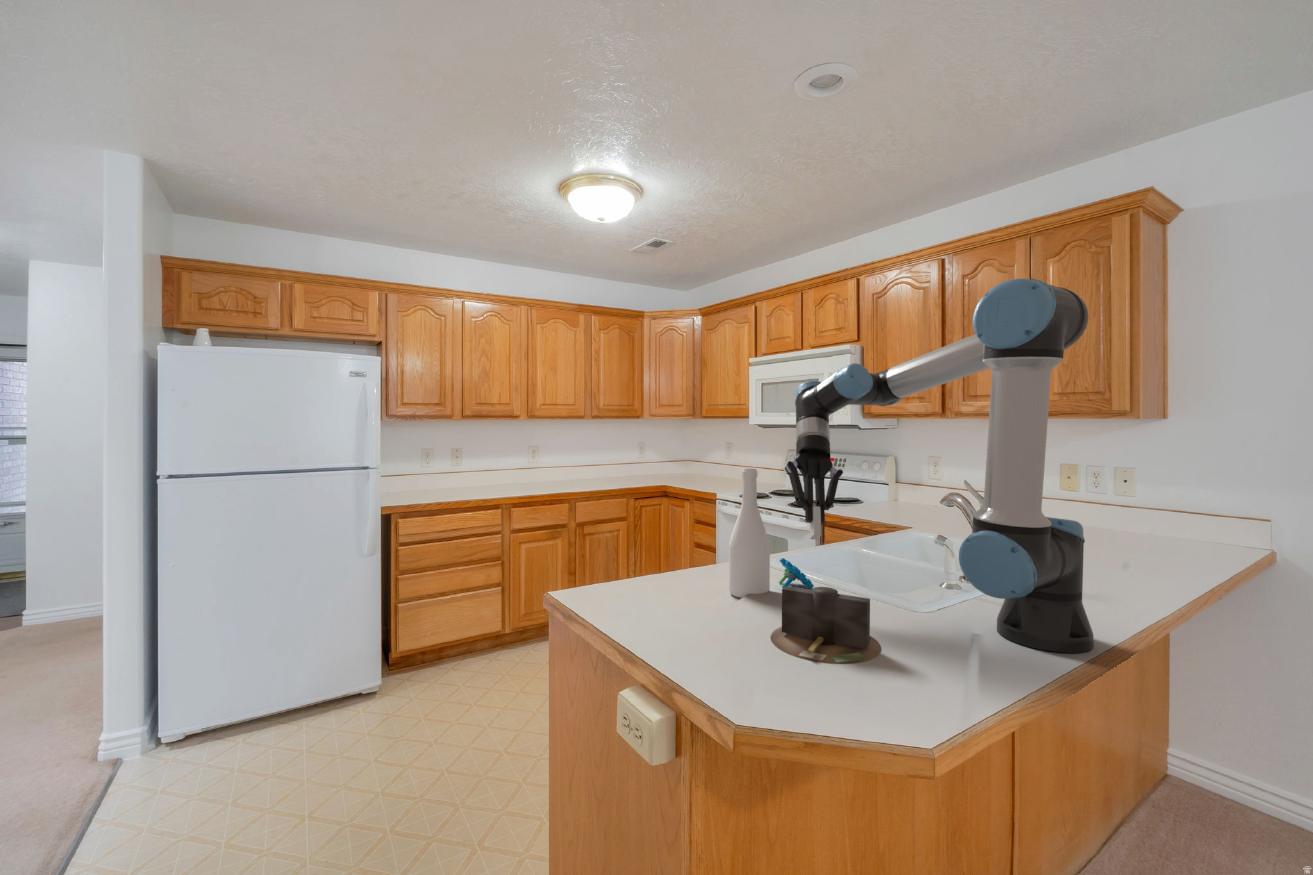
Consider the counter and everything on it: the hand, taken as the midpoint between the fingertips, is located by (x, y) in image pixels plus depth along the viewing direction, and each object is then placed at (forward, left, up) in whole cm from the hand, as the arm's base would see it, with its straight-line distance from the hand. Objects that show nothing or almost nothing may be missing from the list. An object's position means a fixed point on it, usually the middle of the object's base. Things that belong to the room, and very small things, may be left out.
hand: (815, 537), depth 119 cm
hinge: (-6, +20, -15) cm, 26 cm away
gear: (+10, -18, -17) cm, 27 cm away
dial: (-6, +17, -17) cm, 25 cm away
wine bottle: (+18, -7, -17) cm, 25 cm away
